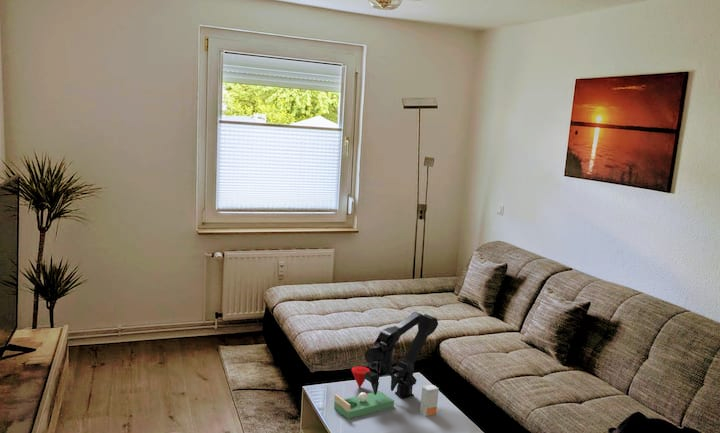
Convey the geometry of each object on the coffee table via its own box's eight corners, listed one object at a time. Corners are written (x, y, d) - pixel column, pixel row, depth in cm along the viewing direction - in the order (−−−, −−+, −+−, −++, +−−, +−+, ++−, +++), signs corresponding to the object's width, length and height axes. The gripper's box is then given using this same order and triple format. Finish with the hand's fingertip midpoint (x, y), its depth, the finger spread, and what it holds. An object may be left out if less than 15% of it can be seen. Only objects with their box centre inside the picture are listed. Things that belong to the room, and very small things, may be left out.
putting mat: (379, 397, 257) (380, 384, 256) (393, 407, 248) (394, 394, 247) (333, 408, 243) (333, 394, 242) (346, 419, 234) (347, 405, 233)
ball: (363, 398, 247) (364, 390, 247) (369, 402, 244) (369, 393, 244) (356, 400, 245) (356, 391, 245) (361, 404, 242) (362, 395, 241)
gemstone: (367, 393, 259) (368, 373, 258) (348, 391, 261) (349, 370, 260) (370, 386, 268) (372, 365, 267) (352, 383, 270) (354, 363, 269)
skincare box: (425, 417, 241) (427, 390, 239) (419, 412, 244) (421, 386, 243) (436, 414, 243) (439, 388, 242) (431, 410, 247) (433, 384, 246)
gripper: (392, 349, 261) (389, 382, 262) (358, 355, 250) (356, 389, 252) (407, 358, 251) (404, 391, 253) (372, 364, 241) (370, 399, 243)
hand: (383, 392), depth 251 cm, fingers open, 9 cm apart
